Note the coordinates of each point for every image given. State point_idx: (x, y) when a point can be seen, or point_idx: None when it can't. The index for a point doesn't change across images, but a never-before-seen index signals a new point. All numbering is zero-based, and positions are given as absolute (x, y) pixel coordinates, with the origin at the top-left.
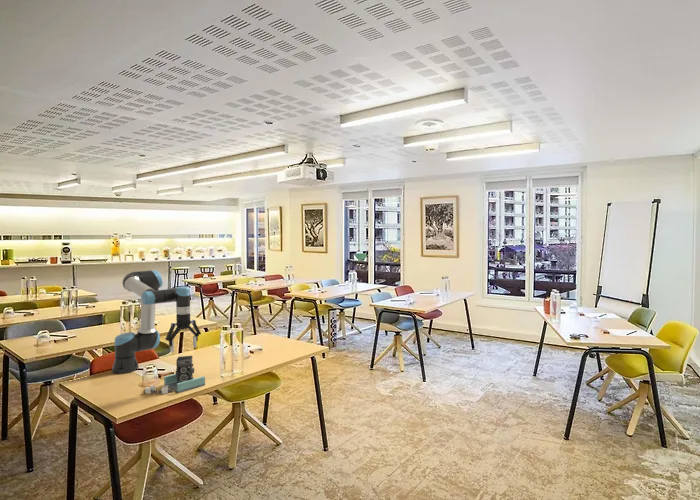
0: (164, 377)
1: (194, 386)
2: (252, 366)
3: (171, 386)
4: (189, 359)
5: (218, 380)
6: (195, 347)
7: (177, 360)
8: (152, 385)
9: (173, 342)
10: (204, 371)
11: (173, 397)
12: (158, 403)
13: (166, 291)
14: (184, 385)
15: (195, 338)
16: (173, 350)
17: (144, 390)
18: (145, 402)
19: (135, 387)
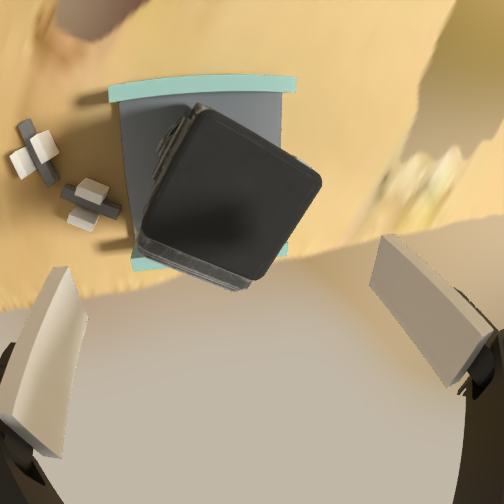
0: (109, 92)
1: None
2: (484, 174)
3: (130, 164)
4: (240, 286)
5: (346, 217)
6: (371, 285)
7: (144, 242)
8: (39, 143)
9: (58, 434)
10: (378, 51)
11: (109, 280)
12: None
13: None
14: None
15: (436, 365)
16: (77, 335)
17: (21, 126)
18: (17, 260)
19: (15, 43)
